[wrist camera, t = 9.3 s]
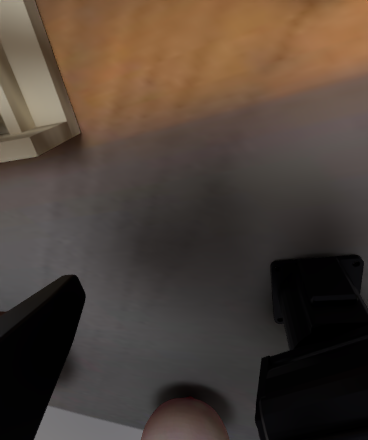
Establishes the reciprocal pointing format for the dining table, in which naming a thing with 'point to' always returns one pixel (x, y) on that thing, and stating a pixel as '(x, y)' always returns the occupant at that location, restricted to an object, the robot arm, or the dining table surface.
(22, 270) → the dining table surface
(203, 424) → the decorative fruit
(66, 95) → the roll cradle
